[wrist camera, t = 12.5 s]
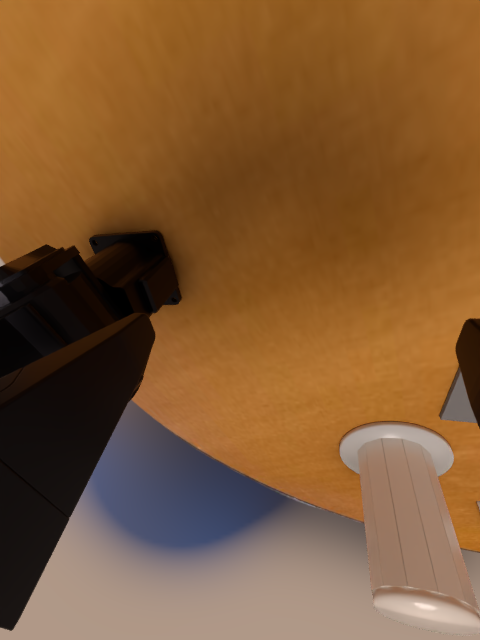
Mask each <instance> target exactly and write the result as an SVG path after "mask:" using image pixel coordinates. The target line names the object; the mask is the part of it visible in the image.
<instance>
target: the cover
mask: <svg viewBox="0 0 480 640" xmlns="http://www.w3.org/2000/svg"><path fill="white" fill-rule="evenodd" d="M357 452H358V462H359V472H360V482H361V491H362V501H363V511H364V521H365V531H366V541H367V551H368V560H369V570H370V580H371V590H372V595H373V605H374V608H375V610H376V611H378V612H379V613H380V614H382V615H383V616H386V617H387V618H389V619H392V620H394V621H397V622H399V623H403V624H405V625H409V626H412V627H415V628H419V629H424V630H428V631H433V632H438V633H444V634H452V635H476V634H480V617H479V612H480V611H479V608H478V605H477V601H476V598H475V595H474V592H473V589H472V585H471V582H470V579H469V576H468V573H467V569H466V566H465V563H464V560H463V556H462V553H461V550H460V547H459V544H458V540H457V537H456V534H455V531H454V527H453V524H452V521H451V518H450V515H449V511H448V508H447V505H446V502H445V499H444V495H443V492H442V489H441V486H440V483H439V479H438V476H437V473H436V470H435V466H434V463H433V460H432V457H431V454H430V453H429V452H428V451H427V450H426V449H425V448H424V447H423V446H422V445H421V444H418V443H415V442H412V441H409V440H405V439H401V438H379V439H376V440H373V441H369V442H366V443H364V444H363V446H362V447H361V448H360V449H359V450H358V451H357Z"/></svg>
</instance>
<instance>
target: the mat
mask: <svg viewBox="0 0 480 640" xmlns="http://www.w3.org/2000/svg"><path fill="white" fill-rule="evenodd" d="M440 419H441V420H452V421H462V422H473V423H477V421H476V419H475V416H474V414H473V411H472V408H471V406H470V402H469V399H468V396H467V392H466V388H465V385H464V381H463V377H462V374H461V370H460V367H459V369H458V372H457V374H456V377H455V379H454V381H453V384H452V386H451V389H450V391H449V394H448V396H447V399H446V401H445V403H444V406H443V408H442V411H441V413H440Z"/></svg>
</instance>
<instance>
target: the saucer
mask: <svg viewBox="0 0 480 640" xmlns="http://www.w3.org/2000/svg"><path fill="white" fill-rule="evenodd" d="M379 438H401V439H405V440H409V441H412V442H415V443H418V444H421V445H422V446H423V447H424V448H425V449H426V450H427V451H428V452H429V453H430V454H431V457H432V460H433V463H434V466H435V470H436V473H437V476H440V475H442V474H444V473H445V472H447V471H448V470H449V469H450V467H451V466H452V464H453V460H454V456H453V452H452V450H451V447H450V445H449V443H448V442H447V441H446V440H445V439H444V438H443V437H442V436H441V435H439V434H438V433H436V432H434V431H432V430H430V429H428V428H425V427H423V426H419V425H416V424H411V423H405V422H394V421H387V422H375V423H369V424H365V425H362V426H359V427H357V428H354V429H352V430H351V431H349V432H348V433H347V434H346V435H344V437H343V438H342V440H341V442H340V456H341V459H342V461H343V462H344V463H345V464H346V465H347V466H348V467H349V468H350V469H352V470H353V471H355V472H356V473H358V474H360V472H359V462H358V452H357V451H358V450H359V449H360V448H361V447H362V446H363V444H364V443H366V442H369V441H373V440H376V439H379Z"/></svg>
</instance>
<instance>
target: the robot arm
mask: <svg viewBox="0 0 480 640" xmlns="http://www.w3.org/2000/svg"><path fill="white" fill-rule="evenodd" d="M154 236H156V237H157V240H156V239H154ZM95 241H97V243H98V244H97V243H96V242H95ZM89 242H90V245H91V247H92V249H93V251H94V253H95V255H94V256H92V257H91V258H89V259H87V260H86V261H84V260H83V259H82V258H81V256H80V255H79V253H80V252H79V251H78V250H77V248H76V247H75V246H71V247H69V248H67V249H64V248H63V247H62V248H60V249H56V248H53V247H51V246H49V245H47V244H46V245H44V246H42V247H40V248H38V249H36V250H34V251H32V252H30V253H28V254H26V255H24V256H22V257H20V258H18V259H16V260H14V261H11V262H9V263H7V264H5V265H3V266H1V267H0V628H4V629H7V630H10V631H12V630H13V629H14V627H15V625H16V623H17V622H18V620H19V618H20V617H21V615H22V613H23V611H24V609H25V607H26V605H27V603H28V601H29V599H30V597H31V595H32V592H33V591H34V589H35V587H36V585H37V583H38V581H39V579H40V577H41V575H42V573H43V571H44V569H45V567H46V565H47V563H48V561H49V559H50V557H51V555H52V553H53V551H54V549H55V547H56V545H57V543H58V541H59V539H60V537H61V535H62V533H63V531H64V529H65V527H66V525H67V523H68V521H69V517H70V516H71V515H72V513H73V511H74V509H75V507H76V505H77V503H78V501H79V499H80V497H81V495H82V493H83V491H84V489H85V487H86V485H87V483H88V481H89V479H90V477H91V475H92V473H93V471H94V469H95V467H96V465H97V463H98V461H99V459H100V457H101V455H102V453H103V451H104V449H105V447H106V445H107V443H108V441H109V439H110V437H111V435H112V433H113V431H114V429H115V427H116V425H117V423H118V421H119V419H120V417H121V415H122V413H123V411H124V409H125V407H126V406H127V403H128V402H129V401H130V400H131V399H132V398H133V397H134V395H135V394H136V392H137V391H138V389H139V387H140V384H141V382H142V380H143V375H144V371H145V368H146V365H147V362H148V359H149V355H150V352H151V349H152V346H153V343H154V341H155V331H154V329H153V326H152V324H151V321H150V319H149V317H150V316H151V315H152V314H153V313H157V312H158V310H159V309H160V308H161V307H162V305H177V304H179V302H180V301H181V296H180V292H179V289H178V282H177V279H176V275H175V272H174V269H173V266H172V262H171V259H170V258H169V257H168V253H167V250H166V247H165V244H164V240H163V237H162V235H161V233H160V232H158V231H143V232H130V233H117V234H105V235H95V236H92V237H91V238H90V239H89ZM173 297H174V298H176V299H177V300H175V299H174V298H173ZM456 355H457V359H458V363H459V366H460V370H461V374H462V377H463V381H464V385H465V388H466V392H467V396H468V399H469V402H470V406H471V408H472V411H473V414H474V416H475V419H476V421H477V423H478V426H479V428H480V319H468V320H466V322H465V323H464V325H463V328H462V330H461V333H460V335H459V338H458V341H457V343H456Z"/></svg>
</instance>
